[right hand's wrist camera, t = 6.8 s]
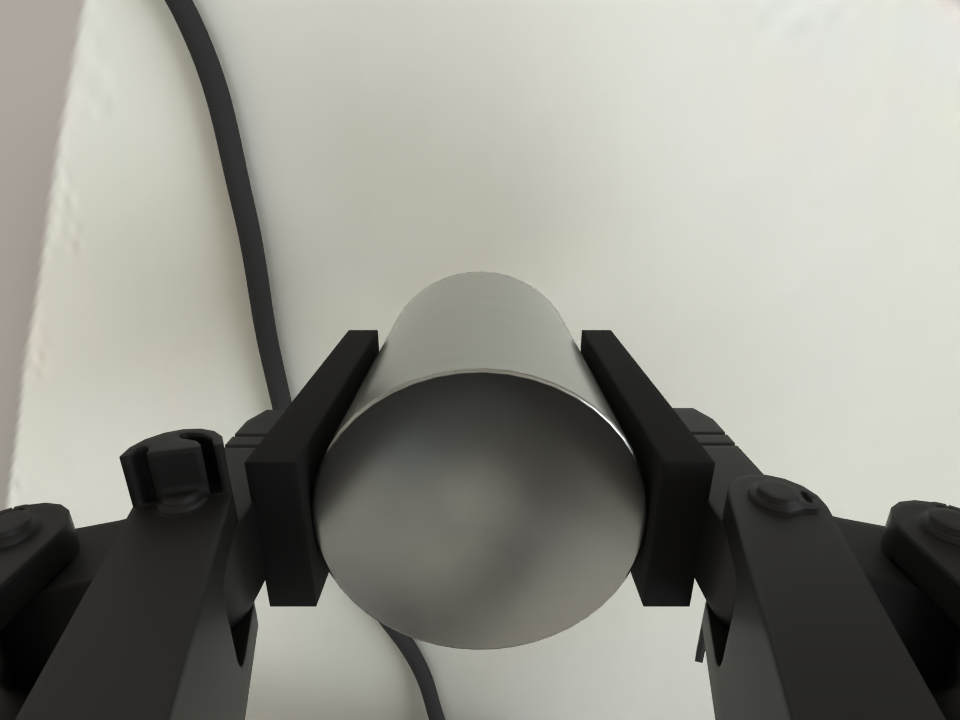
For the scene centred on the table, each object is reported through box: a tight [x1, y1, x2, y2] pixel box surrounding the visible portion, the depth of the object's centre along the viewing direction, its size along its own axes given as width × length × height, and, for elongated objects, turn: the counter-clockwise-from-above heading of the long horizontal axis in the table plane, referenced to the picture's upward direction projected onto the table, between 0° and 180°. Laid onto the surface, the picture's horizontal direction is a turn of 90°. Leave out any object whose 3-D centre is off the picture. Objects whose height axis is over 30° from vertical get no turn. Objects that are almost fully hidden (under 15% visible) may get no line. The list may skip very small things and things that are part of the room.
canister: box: [312, 272, 648, 650], centre depth 12 cm, size 5×5×7 cm
